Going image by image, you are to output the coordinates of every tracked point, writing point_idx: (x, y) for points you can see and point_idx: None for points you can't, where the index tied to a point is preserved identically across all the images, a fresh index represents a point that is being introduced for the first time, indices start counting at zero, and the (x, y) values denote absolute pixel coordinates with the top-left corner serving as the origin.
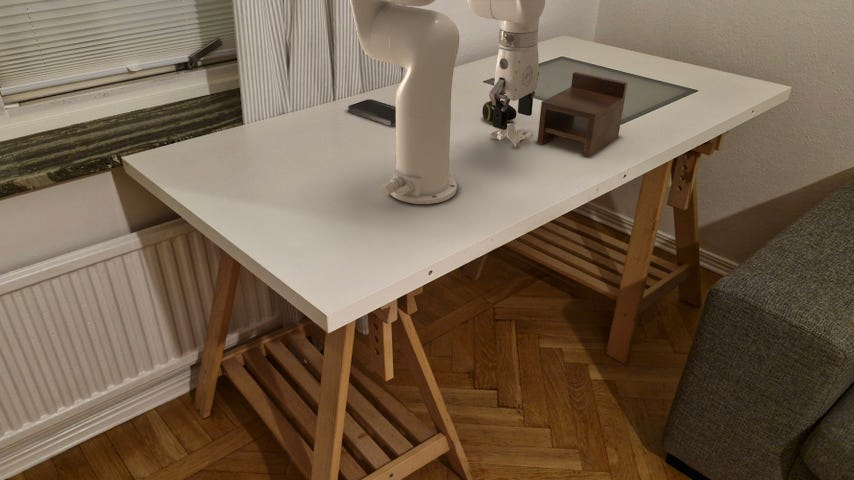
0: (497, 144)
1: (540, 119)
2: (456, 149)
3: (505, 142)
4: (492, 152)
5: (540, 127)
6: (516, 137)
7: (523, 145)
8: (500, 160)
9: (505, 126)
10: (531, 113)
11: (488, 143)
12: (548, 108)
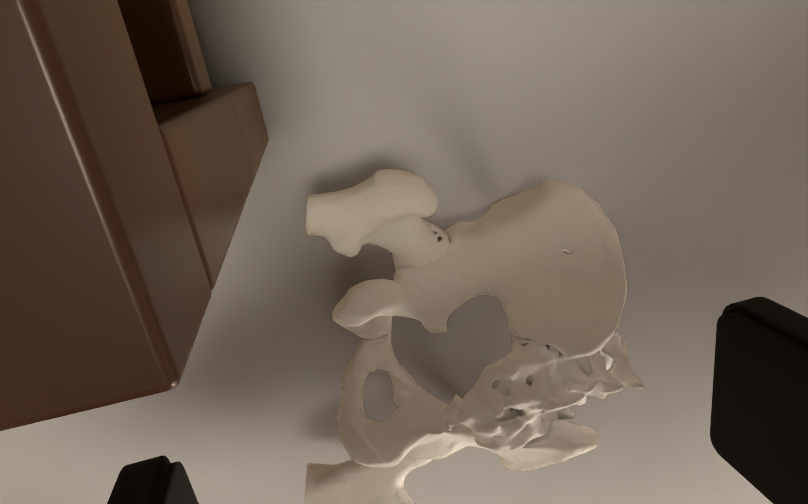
0: None
1: (243, 186)
2: None
3: (472, 328)
4: (697, 245)
5: (251, 146)
6: (497, 253)
7: None
8: (793, 91)
9: (791, 314)
10: (128, 476)
11: None
12: (113, 29)
